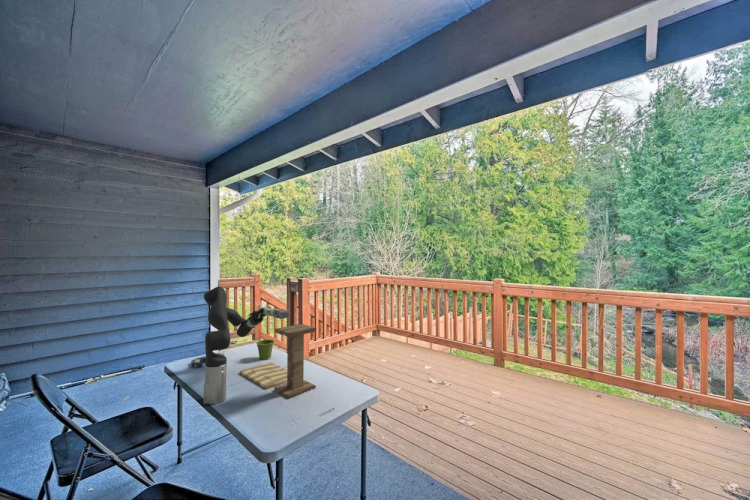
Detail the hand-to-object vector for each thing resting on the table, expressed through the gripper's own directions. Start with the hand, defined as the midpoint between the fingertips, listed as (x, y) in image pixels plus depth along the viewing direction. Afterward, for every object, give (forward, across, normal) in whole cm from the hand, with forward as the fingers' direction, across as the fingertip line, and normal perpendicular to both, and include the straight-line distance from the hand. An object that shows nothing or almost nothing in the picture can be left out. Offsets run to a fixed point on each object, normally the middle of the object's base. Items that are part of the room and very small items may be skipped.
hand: (266, 308), depth 179 cm
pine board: (-16, 0, +35) cm, 39 cm away
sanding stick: (+4, 0, +6) cm, 7 cm away
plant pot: (-42, +14, +21) cm, 49 cm away
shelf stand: (+7, 0, +49) cm, 49 cm away
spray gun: (-59, -15, +12) cm, 62 cm away
